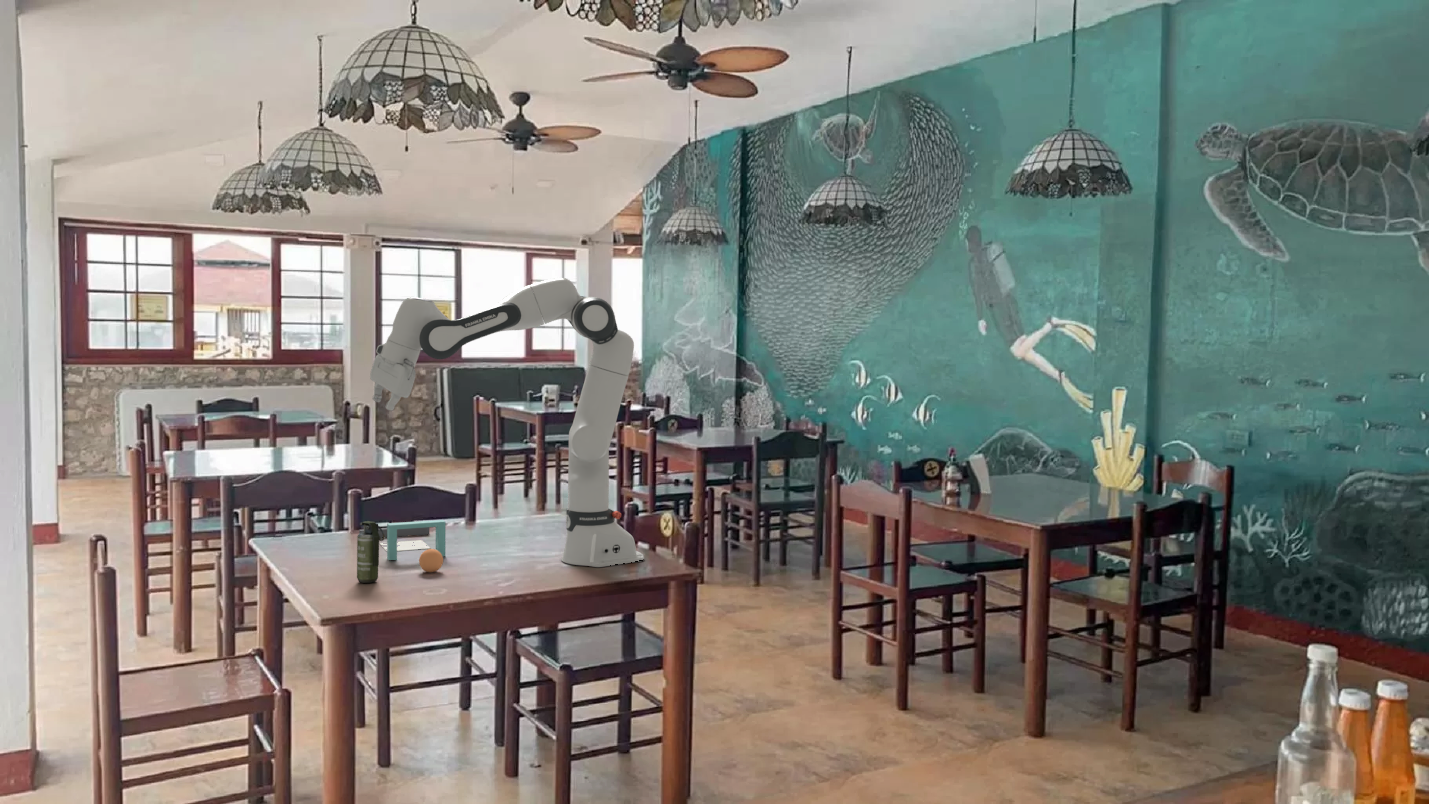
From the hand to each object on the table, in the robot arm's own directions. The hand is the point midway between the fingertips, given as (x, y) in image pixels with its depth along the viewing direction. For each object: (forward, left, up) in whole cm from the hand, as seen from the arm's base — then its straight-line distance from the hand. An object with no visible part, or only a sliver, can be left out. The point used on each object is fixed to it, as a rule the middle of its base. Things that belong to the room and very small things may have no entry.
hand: (382, 405), depth 285 cm
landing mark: (-10, -21, -42) cm, 48 cm away
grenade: (+6, +18, -42) cm, 46 cm away
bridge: (-10, -5, -42) cm, 44 cm away
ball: (-10, +13, -39) cm, 42 cm away
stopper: (-10, -36, -42) cm, 57 cm away
